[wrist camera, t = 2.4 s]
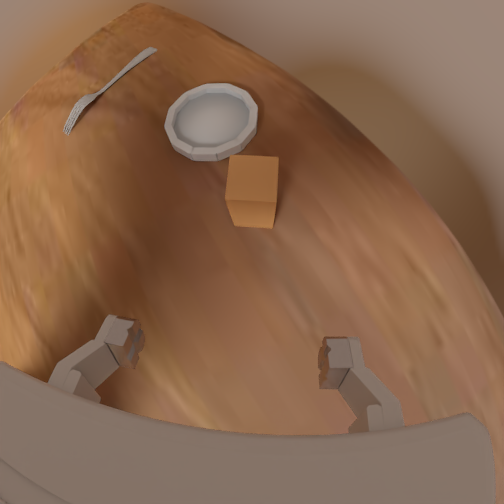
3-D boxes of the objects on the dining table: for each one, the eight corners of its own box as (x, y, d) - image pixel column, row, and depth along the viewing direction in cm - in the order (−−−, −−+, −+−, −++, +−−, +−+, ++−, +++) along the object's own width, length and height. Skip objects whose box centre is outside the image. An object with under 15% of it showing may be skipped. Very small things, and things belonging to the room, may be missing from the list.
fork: (163, 59, 38) (161, 47, 35) (67, 140, 33) (59, 130, 31) (153, 56, 38) (150, 44, 36) (60, 134, 34) (52, 123, 31)
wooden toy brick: (234, 225, 30) (224, 199, 22) (237, 190, 30) (230, 154, 23) (272, 228, 30) (276, 202, 22) (274, 192, 30) (278, 157, 22)
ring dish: (161, 161, 31) (156, 155, 30) (178, 92, 33) (175, 85, 32) (253, 162, 31) (253, 155, 29) (260, 91, 33) (259, 83, 31)
